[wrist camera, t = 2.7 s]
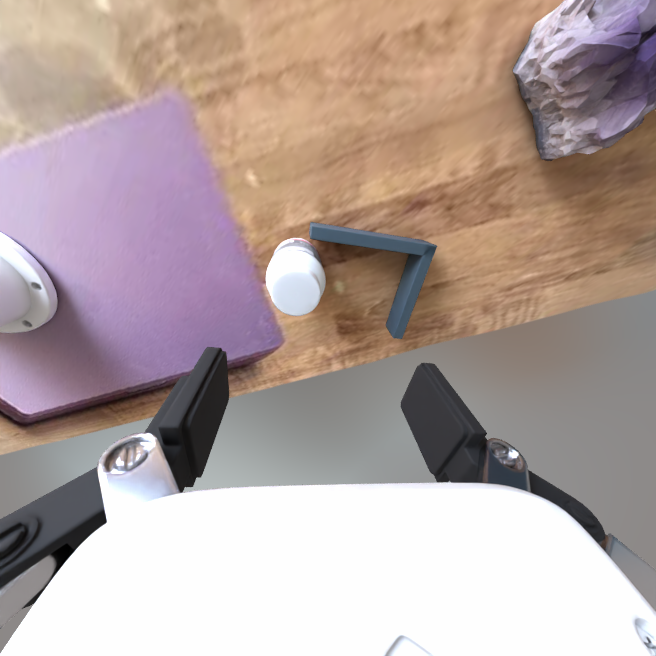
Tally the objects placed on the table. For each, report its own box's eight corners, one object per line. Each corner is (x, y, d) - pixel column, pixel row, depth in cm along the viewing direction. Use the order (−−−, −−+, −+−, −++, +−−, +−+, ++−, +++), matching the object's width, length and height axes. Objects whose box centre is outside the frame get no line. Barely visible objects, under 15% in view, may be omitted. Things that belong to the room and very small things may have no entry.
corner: (299, 317, 30) (299, 330, 28) (310, 221, 25) (311, 225, 22) (393, 326, 33) (401, 339, 30) (423, 240, 27) (437, 245, 24)
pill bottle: (319, 284, 28) (326, 324, 20) (274, 283, 28) (263, 324, 19) (321, 238, 26) (331, 261, 17) (272, 235, 25) (257, 258, 17)
